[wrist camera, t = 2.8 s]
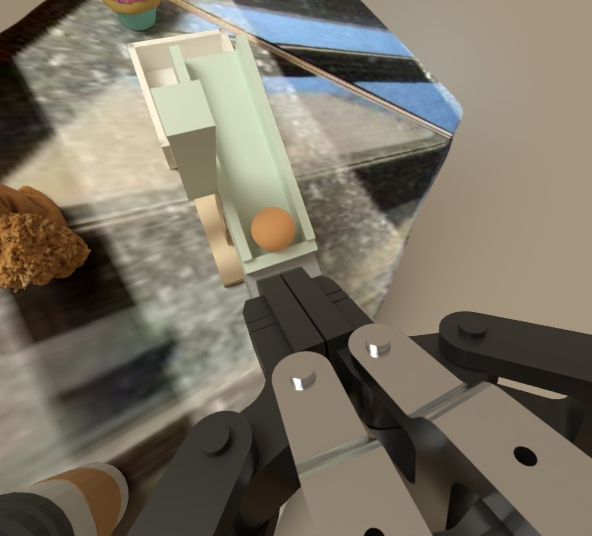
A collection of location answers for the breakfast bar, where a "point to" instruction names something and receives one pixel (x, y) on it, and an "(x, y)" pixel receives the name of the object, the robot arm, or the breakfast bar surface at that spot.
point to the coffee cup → (67, 504)
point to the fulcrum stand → (219, 239)
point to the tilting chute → (235, 154)
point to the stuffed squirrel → (35, 240)
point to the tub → (171, 68)
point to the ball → (273, 229)
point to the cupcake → (135, 12)
